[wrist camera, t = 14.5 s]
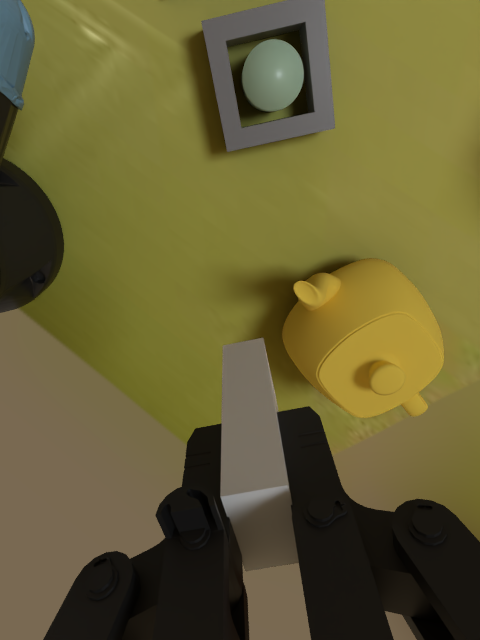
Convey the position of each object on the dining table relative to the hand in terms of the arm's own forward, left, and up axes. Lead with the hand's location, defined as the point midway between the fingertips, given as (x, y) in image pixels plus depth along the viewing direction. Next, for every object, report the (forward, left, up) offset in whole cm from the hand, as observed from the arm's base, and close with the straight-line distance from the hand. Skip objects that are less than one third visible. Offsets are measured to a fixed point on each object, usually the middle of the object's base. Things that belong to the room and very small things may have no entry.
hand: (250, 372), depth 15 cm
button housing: (+5, +11, -26) cm, 29 cm away
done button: (+5, +11, -26) cm, 28 cm away
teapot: (+9, -11, -27) cm, 30 cm away
